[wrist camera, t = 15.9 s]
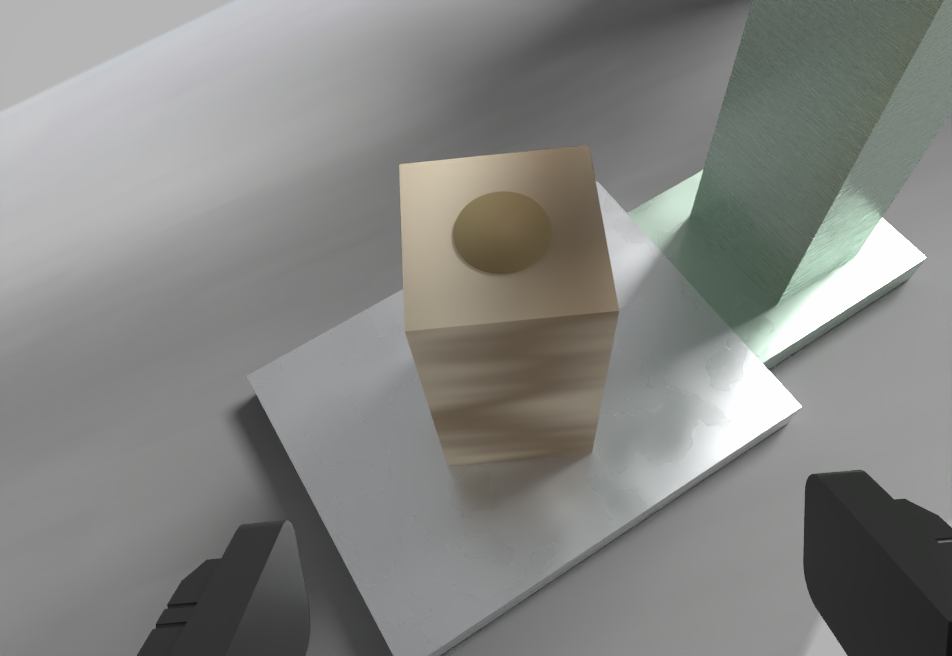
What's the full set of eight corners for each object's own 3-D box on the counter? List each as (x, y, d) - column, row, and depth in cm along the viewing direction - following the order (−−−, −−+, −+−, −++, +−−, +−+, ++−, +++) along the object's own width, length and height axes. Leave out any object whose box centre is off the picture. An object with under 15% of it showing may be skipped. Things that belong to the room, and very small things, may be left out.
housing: (447, 466, 27) (404, 329, 18) (440, 338, 29) (398, 161, 20) (592, 453, 27) (619, 308, 18) (573, 325, 29) (589, 142, 20)
